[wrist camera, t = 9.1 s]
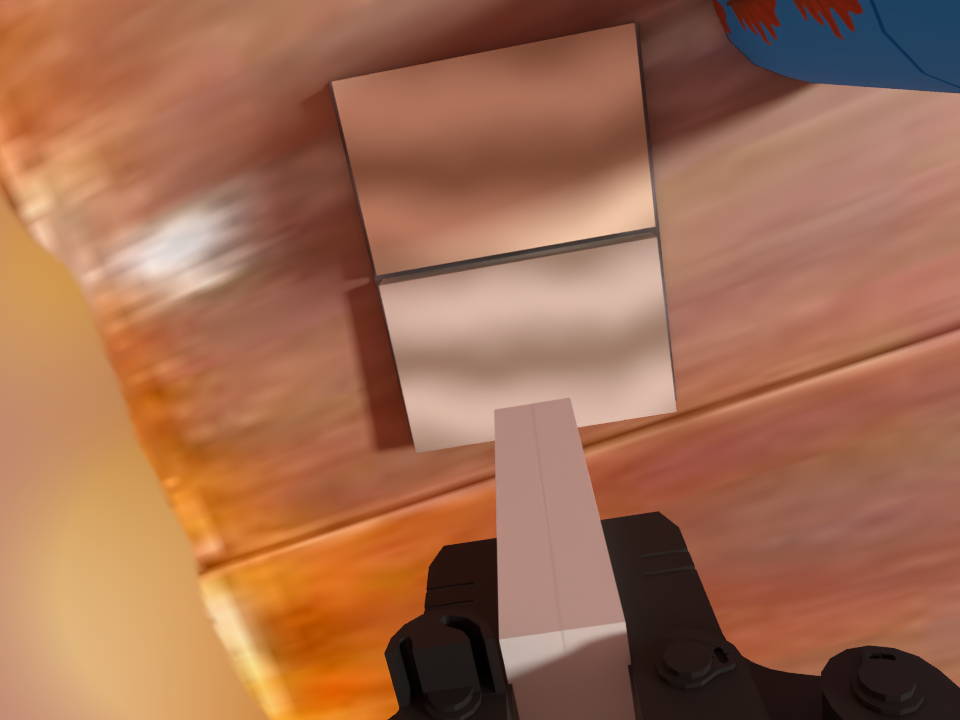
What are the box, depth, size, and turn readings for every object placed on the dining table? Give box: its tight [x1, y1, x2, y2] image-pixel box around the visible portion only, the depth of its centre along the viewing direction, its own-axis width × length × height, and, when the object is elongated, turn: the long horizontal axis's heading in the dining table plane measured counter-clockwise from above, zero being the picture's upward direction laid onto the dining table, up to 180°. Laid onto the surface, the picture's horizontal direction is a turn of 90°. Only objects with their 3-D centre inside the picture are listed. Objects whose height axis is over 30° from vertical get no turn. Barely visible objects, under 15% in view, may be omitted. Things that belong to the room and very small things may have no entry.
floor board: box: [329, 22, 676, 443], centre depth 43 cm, size 21×16×2 cm
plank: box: [379, 232, 676, 453], centre depth 44 cm, size 10×15×2 cm, turn 100°
